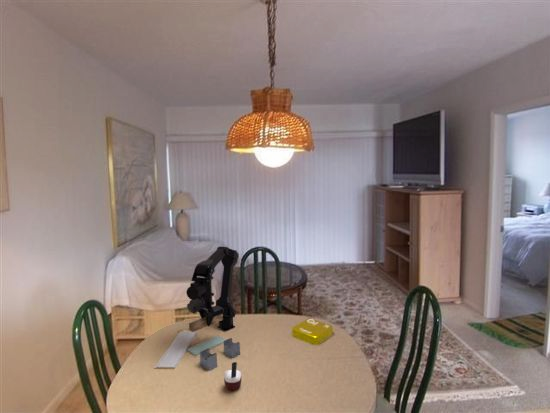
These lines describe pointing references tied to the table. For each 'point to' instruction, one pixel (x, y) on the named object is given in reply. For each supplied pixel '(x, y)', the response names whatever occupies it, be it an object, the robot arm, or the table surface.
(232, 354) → the grey block
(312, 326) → the element tile
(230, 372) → the cupcake
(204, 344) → the mat
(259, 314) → the table surface
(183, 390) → the table surface
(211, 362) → the grey notched block
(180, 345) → the baseboard
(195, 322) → the rail
